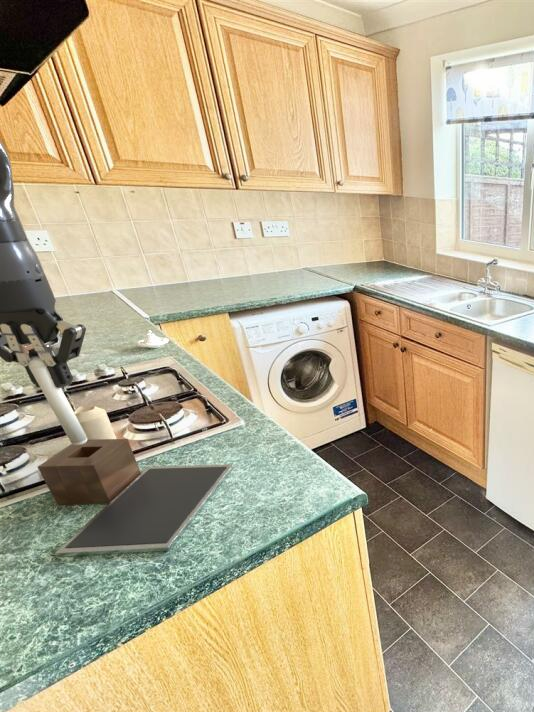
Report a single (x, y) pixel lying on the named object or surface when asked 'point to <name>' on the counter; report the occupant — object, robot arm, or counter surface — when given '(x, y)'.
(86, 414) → the candle
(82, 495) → the stand
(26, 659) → the counter surface
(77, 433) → the white rod
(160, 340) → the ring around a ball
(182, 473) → the tablet
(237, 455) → the counter surface
